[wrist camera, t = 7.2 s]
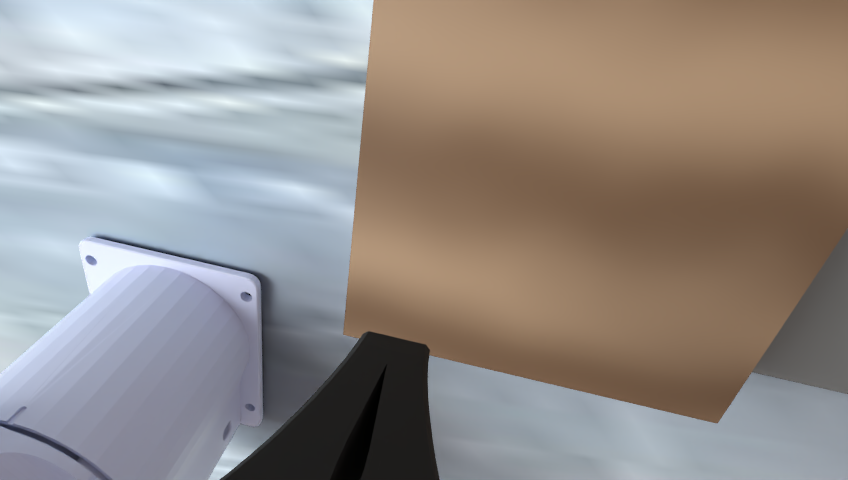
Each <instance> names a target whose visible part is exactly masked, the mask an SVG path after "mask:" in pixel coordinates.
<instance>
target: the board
mask: <svg viewBox="0 0 848 480" xmlns="http://www.w3.org/2000/svg"><path fill="white" fill-rule="evenodd" d="M847 228H848V0H374V3H373V14H372V25H371V36H370V47H369V57H368V68H367V79H366V90H365V101H364V112H363V123H362V134H361V145H360V156H359V167H358V178H357V189H356V200H355V211H354V222H353V233H352V244H351V255H350V266H349V277H348V288H347V299H346V310H345V321H344V332H343V335H347V336H351V337H355V338H360V337H361V336H362V334H364V333H366V332H368V331H371V332H375V333H379V334H384V335H388V336H392V337H396V338H400V339H405V340H409V341H413V342H417V343H422V344H426V345H427V347H428V348H429V349H430V354H429V355H431V356H435V357H440V358H444V359H448V360H452V361H456V362H461V363H465V364H469V365H473V366H477V367H482V368H486V369H490V370H494V371H498V372H503V373H507V374H511V375H515V376H519V377H524V378H528V379H532V380H536V381H541V382H545V383H549V384H553V385H557V386H562V387H566V388H570V389H574V390H578V391H583V392H587V393H591V394H595V395H599V396H604V397H608V398H612V399H616V400H620V401H625V402H629V403H633V404H637V405H642V406H646V407H650V408H654V409H658V410H663V411H667V412H671V413H675V414H679V415H684V416H688V417H692V418H696V419H700V420H705V421H709V422H713V423H718V422H719V420H720V419H721V417H722V416H723V414H724V413H725V411H726V410H727V408H728V407H729V405H730V404H731V402H732V401H733V399H734V398H735V396H736V395H737V393H738V392H739V390H740V389H741V387H742V386H743V384H744V383H745V381H746V380H747V378H748V377H749V375H750V374H751V372H752V371H753V369H754V368H755V366H756V365H757V363H758V362H759V360H760V359H761V357H762V356H763V354H764V353H765V351H766V350H767V348H768V347H769V345H770V344H771V342H772V341H773V339H774V338H775V336H776V335H777V333H778V332H779V330H780V329H781V327H782V326H783V324H784V323H785V321H786V320H787V318H788V317H789V315H790V314H791V312H792V311H793V309H794V308H795V306H796V305H797V303H798V302H799V300H800V299H801V297H802V296H803V294H804V293H805V291H806V290H807V288H808V287H809V285H810V284H811V282H812V281H813V279H814V278H815V276H816V275H817V273H818V272H819V270H820V269H821V267H822V266H823V264H824V263H825V261H826V260H827V258H828V257H829V255H830V254H831V252H832V251H833V249H834V248H835V246H836V245H837V243H838V242H839V240H840V239H841V237H842V236H843V234H844V233H845V231H846V230H847Z"/></svg>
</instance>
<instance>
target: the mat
mask: <svg viewBox="0 0 848 480" xmlns="http://www.w3.org/2000/svg"><path fill="white" fill-rule="evenodd" d="M752 372H754V373H758V374H763V375H767V376H772V377H776V378H780V379H785V380H789V381H793V382H798V383H802V384H806V385H811V386H815V387H819V388H824V389H828V390H832V391H837V392H841V393H845V394H848V228H847V230H846V231H845V233H844V234H843V236H842V237H841V239H840V240H839V242H838V243H837V245H836V246H835V248H834V249H833V251H832V252H831V254H830V255H829V257H828V258H827V260H826V261H825V263H824V264H823V266H822V267H821V269H820V270H819V272H818V273H817V275H816V276H815V278H814V279H813V281H812V282H811V284H810V285H809V287H808V288H807V290H806V291H805V293H804V294H803V296H802V297H801V299H800V300H799V302H798V303H797V305H796V306H795V308H794V309H793V311H792V312H791V314H790V315H789V317H788V318H787V320H786V321H785V323H784V324H783V326H782V327H781V329H780V330H779V332H778V333H777V335H776V336H775V338H774V339H773V341H772V342H771V344H770V345H769V347H768V348H767V350H766V351H765V353H764V354H763V356H762V357H761V359H760V360H759V362H758V363H757V365H756V366H755V368H754V369H753V371H752Z"/></svg>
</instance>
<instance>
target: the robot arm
mask: <svg viewBox="0 0 848 480" xmlns="http://www.w3.org/2000/svg"><path fill="white" fill-rule="evenodd" d="M79 250H80V254H81V258H82V263H83V267H84V271H85V276H86V280H87V284H88V289H89V293H90V295H89V296H88V297H87V298H86V299H84V300H83V301H82V302H81V303H80V304H79V305H78V306H77V307H75V308H74V309H73V310H72V311H71V312H70V313H69V314H67V315H66V316H65V317H64V318H63V319H62V320H61V321H59V322H58V323H57V324H56V325H55V326H54V327H53V328H52V329H50V330H49V331H48V332H47V333H46V334H45V335H44V336H42V337H41V338H40V339H39V340H38V341H37V342H36V343H34V344H33V345H32V346H31V347H30V348H29V349H28V350H27V351H25V352H24V353H23V354H22V355H21V356H20V357H19V358H17V359H16V360H15V361H14V362H13V363H12V364H11V365H9V366H8V367H7V368H6V369H5V370H4V371H3V372H2V373H0V480H208V479H209V477H210V475H211V473H212V472H213V470H214V468H215V466H216V465H217V463H218V461H219V459H220V458H221V456H222V454H223V452H224V451H225V449H226V447H227V445H228V444H229V442H230V440H231V438H232V437H233V435H234V433H235V431H236V430H237V428H238V426H239V424H243V425H247V426H251V427H257V426H259V425H260V424H261V422H262V420H263V382H262V324H261V284H260V281H259V280H258V278H257V277H255V276H254V275H252V274H250V273H246V272H241V271H237V270H233V269H229V268H224V267H220V266H216V265H211V264H207V263H203V262H198V261H194V260H190V259H186V258H181V257H177V256H173V255H168V254H164V253H160V252H155V251H151V250H147V249H143V248H138V247H134V246H130V245H125V244H121V243H117V242H112V241H108V240H104V239H99V238H95V237H87V238H85V239H83V240H82V241H81V242H80V243H79ZM245 292H247V293H249V294H250V295H251V296H249V295H247V294H246V293H245ZM429 354H430V349H429V348H428V347H427V345H426V344H422V343H417V342H413V341H409V340H405V339H400V338H396V337H392V336H388V335H384V334H379V333H375V332H371V331H368V332H366V333H364V334H362V336H361V337H360V339H359V340H358V342H357V343H356V345H355V346H354V347H353V349H352V350H351V351H350V353H349V354H348V355H347V357H346V358H345V359H344V360H343V362H342V363H341V364H340V365H339V366H338V368H337V369H336V370H335V371H334V372H333V374H332V375H331V376H330V377H329V378H328V379H327V380H326V381H325V383H324V384H323V385H322V386H321V387H320V388H319V389H318V390H317V391H316V392H315V394H314V395H313V396H312V397H311V398H310V399H309V400H308V401H307V402H306V403H305V404H304V405H303V406H302V407H301V408H300V409H299V410H298V411H297V412H296V413H295V414H294V415H293V416H292V417H291V418H290V419H289V420H288V421H287V422H286V423H285V424H284V425H283V426H282V427H281V428H280V429H279V430H278V431H277V432H276V433H274V434H273V435H272V436H271V437H270V438H269V439H268V440H267V441H266V442H264V443H263V444H262V445H261V446H260V447H259V448H258V449H257V450H255V451H254V452H253V453H252V454H251V455H250V456H248V457H247V458H246V459H245V460H244V461H242V462H241V463H240V464H239V465H238V466H236V467H235V468H234V469H233V470H231V471H230V472H229V473H228V474H226V475H225V476H224V477H222V478H221V479H220V480H439V475H438V470H437V464H436V459H435V453H434V446H433V440H432V432H431V423H430V415H429V404H428V360H429Z"/></svg>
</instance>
